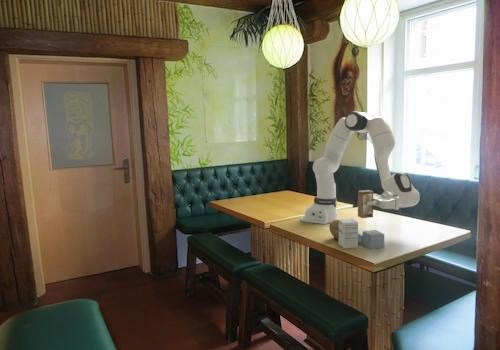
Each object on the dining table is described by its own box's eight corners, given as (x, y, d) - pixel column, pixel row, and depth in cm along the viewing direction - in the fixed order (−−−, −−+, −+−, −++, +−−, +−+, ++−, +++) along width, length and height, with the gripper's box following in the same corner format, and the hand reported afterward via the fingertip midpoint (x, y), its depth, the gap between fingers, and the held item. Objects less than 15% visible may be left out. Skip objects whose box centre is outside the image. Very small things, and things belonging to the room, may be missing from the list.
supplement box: (338, 243, 189) (338, 218, 187) (352, 243, 189) (353, 218, 188) (343, 248, 181) (343, 222, 180) (358, 248, 182) (358, 222, 180)
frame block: (368, 215, 193) (368, 189, 191) (372, 217, 189) (373, 191, 187) (357, 216, 192) (357, 190, 190) (361, 218, 188) (362, 192, 186)
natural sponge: (345, 236, 201) (345, 217, 200) (349, 241, 192) (349, 222, 191) (328, 236, 201) (328, 217, 200) (330, 241, 193) (330, 222, 191)
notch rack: (366, 237, 197) (366, 225, 196) (384, 247, 182) (384, 234, 181) (354, 239, 196) (354, 226, 195) (370, 248, 180) (370, 235, 179)
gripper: (377, 190, 202) (353, 192, 199) (401, 197, 182) (375, 199, 179) (377, 201, 203) (353, 204, 200) (400, 210, 183) (374, 212, 180)
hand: (363, 202), depth 189 cm, fingers closed on frame block, 4 cm apart
